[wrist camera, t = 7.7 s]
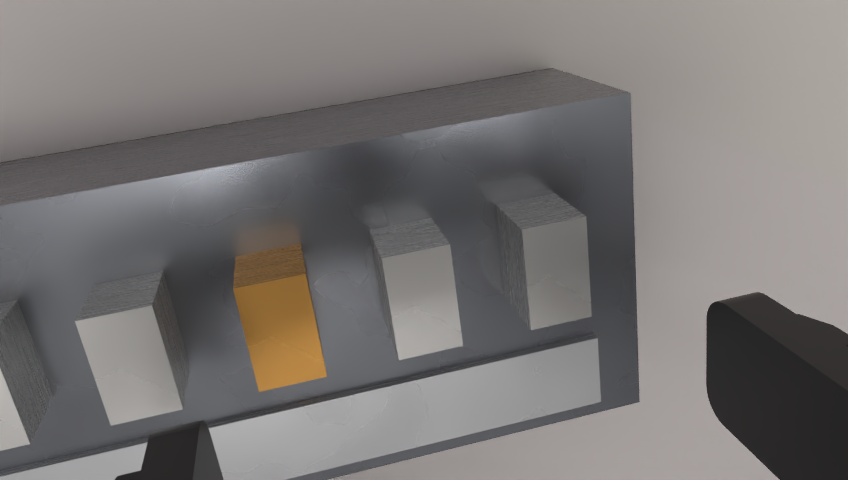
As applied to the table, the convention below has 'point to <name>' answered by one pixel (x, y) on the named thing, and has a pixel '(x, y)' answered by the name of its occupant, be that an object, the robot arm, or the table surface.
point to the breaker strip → (322, 283)
